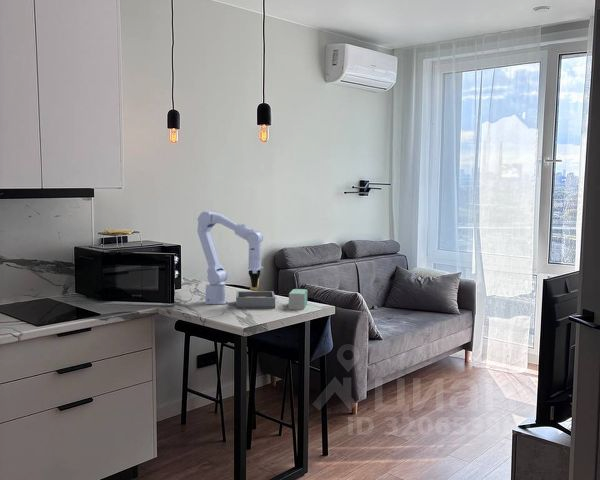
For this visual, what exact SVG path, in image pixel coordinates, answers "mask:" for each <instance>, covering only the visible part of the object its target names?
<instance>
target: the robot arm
mask: <svg viewBox="0 0 600 480" xmlns="http://www.w3.org/2000/svg"><path fill="white" fill-rule="evenodd" d="M197 222H198V223H197V235H198V237H199V240H200V244H201V247H202V251H203V254H204V257H205V260H206V263H207V270H206V273H207V281H208V283H209V284H205V296H204V300H205V303H204V304H205V305H226V302H227V300H226V281H227V280H228V273H227V271H226V270H225V268H224V266H223V265H222V264H221V263H220V260H219V257H218V255H217V251H216V249H215V245H214V243H213V239H212V235H211V230H212V228H213V227H214V226H215V225H216V224H220V225H223V226H224V227H226V228H228V229H230V230H232V231H234V234H235V235H236V236H237V237H240V238H241V239H243V240H245V241H246V243H247V244H248V266H247V269H248V276H249V279H250V278H251V284H252V287H257V284H258V279H259V280H260V276H261V273H262V272H261V270H264V266H262V242H263V241H264V240H263V239H264V237H263V233H262V232H261V231H258V230H257V231H255V229H253V228H250V227H248V226H247V224H246V223H239V224H237V223H236V222H234V221H232V220H231V219H230V218H228V217H227V216H225V215H223V214H222V213H220V212H217V211H216V210H209V211H202V212H200V214H199V215H198V217H197Z"/></svg>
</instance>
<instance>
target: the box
mask: <svg viewBox="0 0 600 480" xmlns="http://www.w3.org/2000/svg"><path fill="white" fill-rule="evenodd" d="M307 305H308V289H304V288H294V289H292V290H291V291H290V292H289V293H288V309H289V310H298V311H299V310H301V311H302V310H303V311H304V310H305V308H306V306H307Z"/></svg>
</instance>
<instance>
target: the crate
mask: <svg viewBox="0 0 600 480" xmlns="http://www.w3.org/2000/svg"><path fill="white" fill-rule="evenodd" d="M235 296H236V297H235V309H276V295H275V292H274V291H273V290H271V291H267V290H261V291H260V290H257V291H252V290H249V291H248V290H243V291H242V290H241V291H239V290H237V291H236V295H235Z"/></svg>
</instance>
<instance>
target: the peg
mask: <svg viewBox="0 0 600 480" xmlns="http://www.w3.org/2000/svg"><path fill="white" fill-rule="evenodd" d="M259 281H260V278H259V279H258V284H257V287H252V284H251V278H250V277H249V291H260V290H259V288H260V287H259V286H260V282H259Z"/></svg>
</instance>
